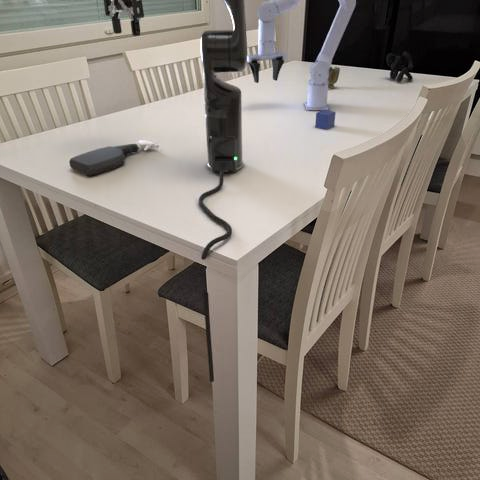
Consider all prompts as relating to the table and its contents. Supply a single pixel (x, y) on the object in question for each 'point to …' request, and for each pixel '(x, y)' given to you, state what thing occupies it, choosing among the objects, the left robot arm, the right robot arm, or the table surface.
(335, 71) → the olive rounded piece
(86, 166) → the spray bottle
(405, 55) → the squiggle
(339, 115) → the table surface
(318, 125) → the brick
